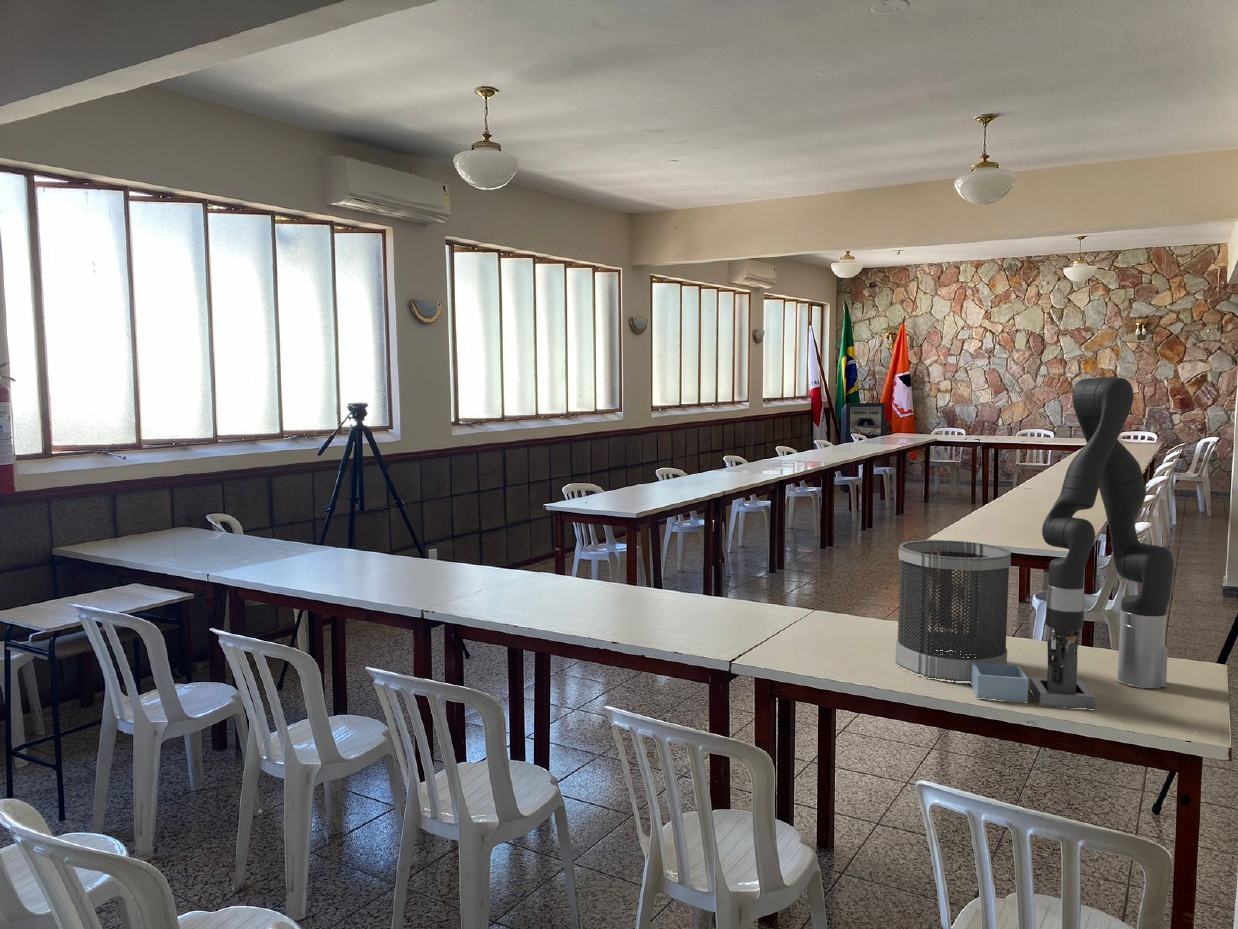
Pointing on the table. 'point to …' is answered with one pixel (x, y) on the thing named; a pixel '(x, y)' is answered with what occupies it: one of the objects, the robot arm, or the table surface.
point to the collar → (1062, 695)
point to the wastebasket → (987, 602)
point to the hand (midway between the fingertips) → (1061, 679)
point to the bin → (999, 681)
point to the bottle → (1065, 671)
